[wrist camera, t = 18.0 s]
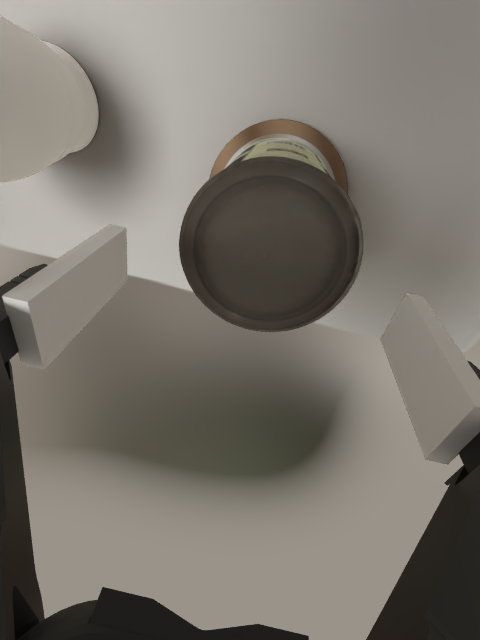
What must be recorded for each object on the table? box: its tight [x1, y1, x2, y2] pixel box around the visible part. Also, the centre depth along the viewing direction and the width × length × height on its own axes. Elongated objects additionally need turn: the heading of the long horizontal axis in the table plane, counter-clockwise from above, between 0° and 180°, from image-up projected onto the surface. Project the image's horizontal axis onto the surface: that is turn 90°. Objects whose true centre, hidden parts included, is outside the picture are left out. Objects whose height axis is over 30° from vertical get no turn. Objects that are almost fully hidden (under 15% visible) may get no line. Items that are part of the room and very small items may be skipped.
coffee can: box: [179, 138, 363, 332], centre depth 24 cm, size 10×10×14 cm
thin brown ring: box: [209, 119, 348, 195], centre depth 31 cm, size 13×13×2 cm
